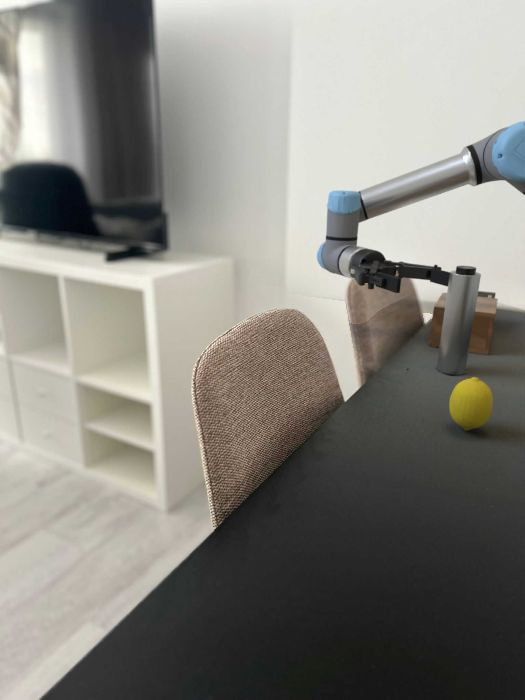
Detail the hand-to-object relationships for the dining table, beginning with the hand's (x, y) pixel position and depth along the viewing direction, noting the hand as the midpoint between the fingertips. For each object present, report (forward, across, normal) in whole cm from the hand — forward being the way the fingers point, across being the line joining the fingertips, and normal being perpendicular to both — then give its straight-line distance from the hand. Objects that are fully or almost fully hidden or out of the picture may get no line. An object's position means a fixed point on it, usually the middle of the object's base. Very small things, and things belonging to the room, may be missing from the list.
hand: (427, 283), depth 97 cm
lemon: (+28, +15, -15) cm, 35 cm away
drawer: (-12, -24, -13) cm, 30 cm away
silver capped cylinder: (+9, 0, -14) cm, 17 cm away
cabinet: (-4, -15, -14) cm, 21 cm away
